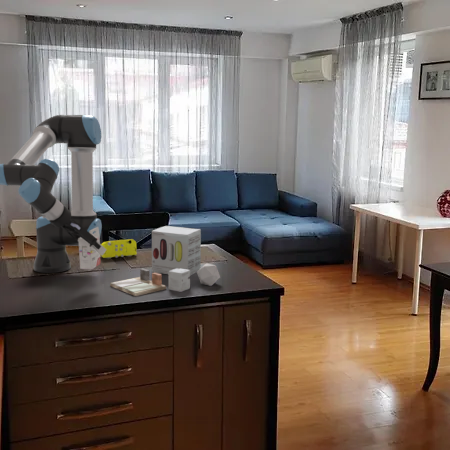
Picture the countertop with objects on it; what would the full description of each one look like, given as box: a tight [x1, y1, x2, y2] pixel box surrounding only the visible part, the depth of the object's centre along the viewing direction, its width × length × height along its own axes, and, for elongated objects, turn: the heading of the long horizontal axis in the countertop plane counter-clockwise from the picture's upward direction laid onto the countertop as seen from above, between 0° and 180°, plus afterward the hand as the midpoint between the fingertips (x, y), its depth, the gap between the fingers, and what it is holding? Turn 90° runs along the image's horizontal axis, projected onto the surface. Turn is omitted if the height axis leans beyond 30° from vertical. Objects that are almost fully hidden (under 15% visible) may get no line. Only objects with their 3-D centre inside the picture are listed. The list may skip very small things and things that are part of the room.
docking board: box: [109, 268, 167, 297], centre depth 224 cm, size 17×14×5 cm
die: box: [196, 263, 221, 287], centre depth 230 cm, size 8×9×10 cm
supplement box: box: [151, 225, 202, 277], centre depth 247 cm, size 17×13×18 cm
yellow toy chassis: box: [100, 238, 138, 259], centre depth 272 cm, size 16×6×8 cm, turn 118°
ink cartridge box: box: [78, 227, 102, 270], centre depth 219 cm, size 9×5×15 cm, turn 168°
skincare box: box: [168, 268, 191, 293], centre depth 222 cm, size 6×6×7 cm
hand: (97, 250), depth 221 cm, fingers closed on ink cartridge box, 8 cm apart
